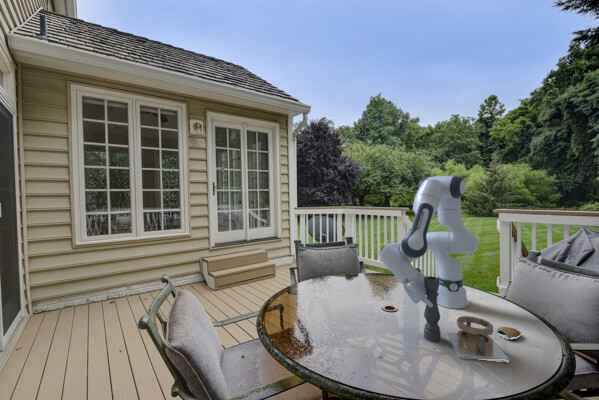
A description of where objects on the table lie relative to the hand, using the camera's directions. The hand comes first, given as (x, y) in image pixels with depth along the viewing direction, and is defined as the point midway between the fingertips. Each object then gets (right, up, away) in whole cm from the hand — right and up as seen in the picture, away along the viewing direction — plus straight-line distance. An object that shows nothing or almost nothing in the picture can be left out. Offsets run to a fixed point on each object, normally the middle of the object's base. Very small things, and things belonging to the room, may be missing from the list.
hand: (433, 304), depth 112 cm
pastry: (+32, -14, +1) cm, 35 cm away
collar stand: (+12, -14, -8) cm, 20 cm away
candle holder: (0, -15, +1) cm, 15 cm away
